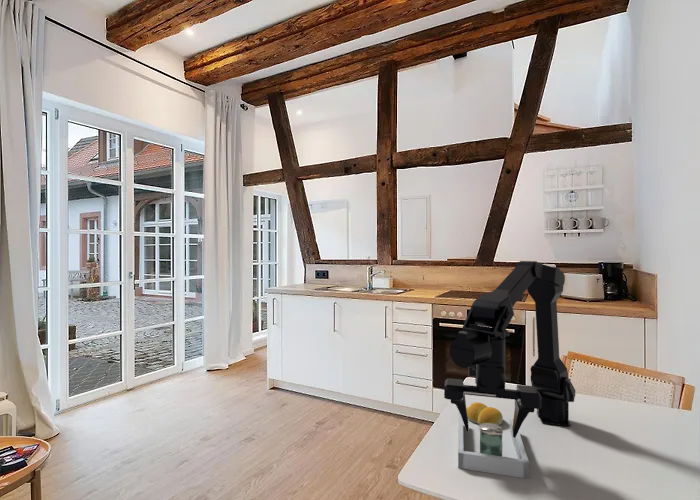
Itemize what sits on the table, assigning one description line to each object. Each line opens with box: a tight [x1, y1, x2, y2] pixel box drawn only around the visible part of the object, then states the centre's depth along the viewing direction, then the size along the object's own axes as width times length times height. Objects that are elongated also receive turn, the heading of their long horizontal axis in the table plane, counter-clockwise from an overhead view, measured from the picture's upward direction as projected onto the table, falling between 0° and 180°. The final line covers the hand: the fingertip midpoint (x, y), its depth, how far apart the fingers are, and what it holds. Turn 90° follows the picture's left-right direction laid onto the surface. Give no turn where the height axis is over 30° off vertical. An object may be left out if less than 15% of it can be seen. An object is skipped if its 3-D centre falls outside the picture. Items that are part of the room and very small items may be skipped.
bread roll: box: [466, 401, 503, 426], centre depth 99 cm, size 8×9×4 cm
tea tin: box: [479, 423, 504, 457], centre depth 80 cm, size 5×5×6 cm
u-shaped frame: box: [457, 412, 530, 480], centre depth 84 cm, size 13×20×3 cm, turn 164°
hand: (490, 433), depth 80 cm, fingers open, 9 cm apart
